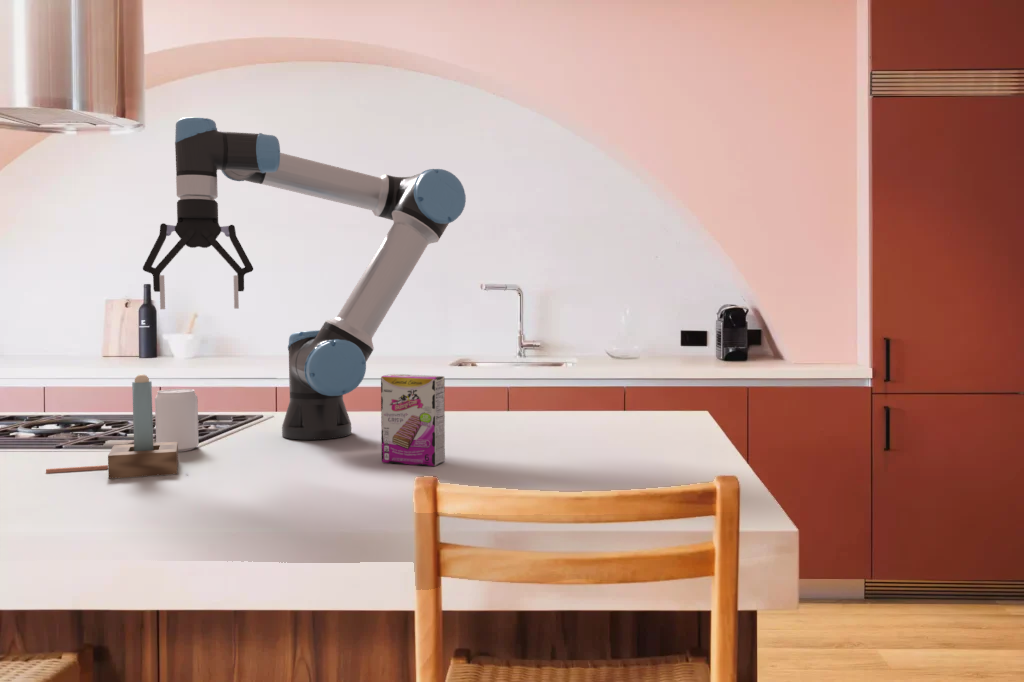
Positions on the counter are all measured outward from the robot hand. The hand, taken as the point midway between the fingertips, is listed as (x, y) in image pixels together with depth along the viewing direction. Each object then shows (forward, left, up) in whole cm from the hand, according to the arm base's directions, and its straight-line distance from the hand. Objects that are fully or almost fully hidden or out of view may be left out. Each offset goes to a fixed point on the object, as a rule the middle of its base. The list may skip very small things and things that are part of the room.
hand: (200, 309), depth 174 cm
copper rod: (+22, +9, -29) cm, 37 cm away
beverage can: (+5, -8, -29) cm, 30 cm away
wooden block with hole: (+10, +13, -29) cm, 33 cm away
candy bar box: (-37, +23, -29) cm, 52 cm away
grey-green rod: (+10, +13, -29) cm, 33 cm away
